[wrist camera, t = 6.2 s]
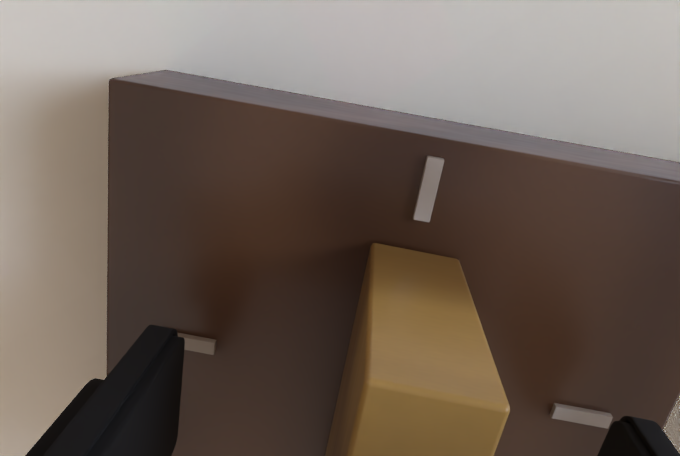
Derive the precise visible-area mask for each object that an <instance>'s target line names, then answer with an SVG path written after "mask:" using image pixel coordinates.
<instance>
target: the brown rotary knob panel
mask: <svg viewBox="0 0 680 456" xmlns="http://www.w3.org/2000/svg"><path fill="white" fill-rule="evenodd" d="M372 243H378V244H383V245H388V246H393V247H399V248H404V249H409V250H414V251H419V252H424V253H429V254H435V255H440V256H445V257H450V258H455V259H458V260H459V262H460V264H461V267H462V270H463V273H464V276H465V279H466V282H467V285H468V288H469V290H470V293H471V296H472V299H473V302H474V305H475V308H476V311H477V314H478V316H479V319H480V322H481V325H482V328H483V331H484V334H485V337H486V339H487V342H488V345H489V348H490V351H491V354H492V357H493V360H494V363H495V365H496V368H497V371H498V374H499V377H500V380H501V383H502V386H503V388H504V391H505V394H506V397H507V400H508V403H509V406H510V412H509V415H508V418H507V421H506V424H505V426H504V429H503V432H502V434H501V437H500V440H499V443H498V445H497V448H496V451H495V453H494V456H597V455H598V453H599V451H600V448H601V446H602V444H603V442H604V440H605V437H606V435H607V433H608V431H609V429H610V426H611V425H612V423H613V422H614V421H619V420H620V419H621V418H622V417H623V416H631V417H637V418H642V419H647V420H652V421H654V422H656V423H657V424H658V425H659V426H660V427H661V429H662V430H663V428H664V426H665V424H666V422H667V420H668V417H669V415H670V413H671V411H672V409H673V407H674V405H675V403H676V401H677V399H678V397H679V395H680V163H679V162H674V161H668V160H662V159H657V158H651V157H646V156H640V155H635V154H629V153H624V152H618V151H613V150H607V149H601V148H596V147H590V146H585V145H579V144H574V143H568V142H563V141H557V140H552V139H546V138H540V137H535V136H529V135H524V134H518V133H513V132H507V131H502V130H496V129H491V128H485V127H479V126H474V125H468V124H463V123H457V122H452V121H446V120H441V119H435V118H429V117H424V116H418V115H413V114H407V113H402V112H396V111H391V110H385V109H380V108H374V107H368V106H363V105H357V104H352V103H346V102H341V101H335V100H330V99H324V98H319V97H313V96H307V95H302V94H296V93H291V92H285V91H280V90H274V89H269V88H263V87H258V86H252V85H246V84H241V83H235V82H230V81H224V80H219V79H213V78H208V77H202V76H196V75H191V74H185V73H180V72H174V71H169V70H162V71H156V72H149V73H143V74H136V75H130V76H124V77H117V78H112V79H110V80H109V134H108V274H107V376H108V375H109V373H110V372H111V371H112V370H113V368H114V367H115V366H116V365H117V363H118V362H119V361H120V360H121V359H122V357H123V356H124V355H125V354H126V352H127V351H128V350H129V349H130V347H131V346H132V345H133V344H134V342H135V341H136V340H137V339H138V338H139V336H140V335H141V334H142V333H143V331H144V330H145V329H146V328H147V327H148V326H149V325H151V324H152V325H157V326H162V327H167V328H172V329H176V330H177V333H178V337H183V338H184V339H185V348H184V361H183V374H182V387H181V401H180V414H179V427H178V437H177V442H176V445H175V448H174V451H173V453H172V455H171V456H325V454H326V449H327V444H328V440H329V435H330V431H331V426H332V421H333V417H334V412H335V408H336V403H337V398H338V394H339V389H340V385H341V380H342V375H343V371H344V366H345V362H346V357H347V352H348V348H349V343H350V338H351V334H352V329H353V325H354V320H355V315H356V311H357V306H358V302H359V297H360V292H361V288H362V283H363V279H364V274H365V269H366V265H367V260H368V256H369V251H370V246H371V245H372Z"/></svg>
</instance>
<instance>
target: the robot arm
mask: <svg viewBox="0 0 680 456" xmlns="http://www.w3.org/2000/svg"><path fill="white" fill-rule="evenodd" d="M184 348H185V339H184V338H183V337H178V333H177V330H176V329H172V328H167V327H162V326H157V325H152V324H151V325H149V326H148V327H147V328H146V329H145V330H144V331H143V333H142V334H141V335H140V336H139V338H138V339H137V340H136V341H135V342H134V344H133V345H132V346H131V347H130V349H129V350H128V351H127V352H126V354H125V355H124V356H123V357H122V359H121V360H120V361H119V362H118V363H117V365H116V366H115V367H114V368H113V370H112V371H111V372H110V373H109V375H108V376H107V377H106V378H105V380H101V379H96V378H95V379H92V380H90V381H89V382H88V383H87V384H86V385H85V386H84V387H83V389H82V390H81V391H80V392H79V393H78V395H77V396H76V397H75V398H74V399H73V400H72V402H71V403H70V404H69V405H68V406H67V407H66V409H65V410H64V411H63V412H62V413H61V414H60V416H59V417H58V418H57V419H56V420H55V422H54V423H53V424H52V425H51V426H50V427H49V429H48V430H47V431H46V432H45V433H44V434H43V436H42V437H41V438H40V439H39V440H38V441H37V443H36V444H35V445H34V446H33V447H32V449H31V450H30V451H29V452H28V453H27V454H26V456H171V455H172V453H173V451H174V448H175V445H176V442H177V437H178V427H179V414H180V401H181V387H182V374H183V361H184ZM597 456H680V454H679V453H678V451H677V450H676V448H675V447H674V446H673V444H672V443H671V441H670V440H669V439H668V437H667V436H666V434H665V433H664V432H663V430H662V429H661V427H660V426H659V425H658V424H657V423H656V422H654V421H652V420H647V419H642V418H637V417H631V416H623V417H622V418H621V419H620V420H619V421H614V422H613V423H612V425H611V426H610V429H609V431H608V433H607V435H606V437H605V440H604V442H603V444H602V446H601V448H600V451H599V453H598V455H597Z"/></svg>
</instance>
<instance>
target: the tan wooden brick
mask: <svg viewBox="0 0 680 456" xmlns="http://www.w3.org/2000/svg"><path fill="white" fill-rule="evenodd" d="M509 412H510V406H509V403H508V400H507V397H506V394H505V391H504V388H503V386H502V383H501V380H500V377H499V374H498V371H497V368H496V365H495V363H494V360H493V357H492V354H491V351H490V348H489V345H488V342H487V339H486V337H485V334H484V331H483V328H482V325H481V322H480V319H479V316H478V314H477V311H476V308H475V305H474V302H473V299H472V296H471V293H470V290H469V288H468V285H467V282H466V279H465V276H464V273H463V270H462V267H461V264H460V262H459V260H458V259H455V258H450V257H445V256H440V255H435V254H429V253H424V252H419V251H414V250H409V249H404V248H399V247H393V246H388V245H383V244H378V243H372V245H371V246H370V251H369V256H368V260H367V265H366V269H365V274H364V279H363V283H362V288H361V292H360V297H359V302H358V306H357V311H356V315H355V320H354V325H353V329H352V334H351V338H350V343H349V348H348V352H347V357H346V362H345V366H344V371H343V375H342V380H341V385H340V389H339V394H338V398H337V403H336V408H335V412H334V417H333V421H332V426H331V431H330V435H329V440H328V444H327V449H326V454H325V456H494V453H495V451H496V448H497V445H498V443H499V440H500V437H501V434H502V432H503V429H504V426H505V424H506V421H507V418H508V415H509Z"/></svg>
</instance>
